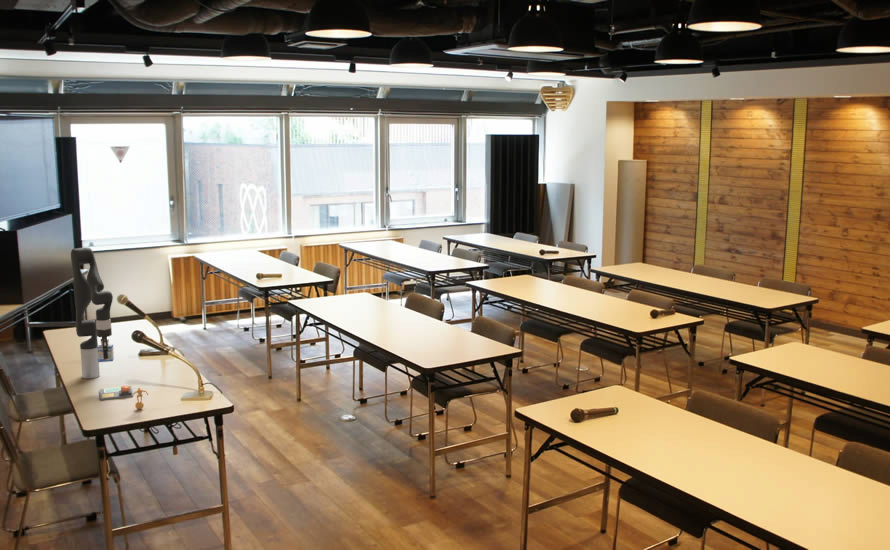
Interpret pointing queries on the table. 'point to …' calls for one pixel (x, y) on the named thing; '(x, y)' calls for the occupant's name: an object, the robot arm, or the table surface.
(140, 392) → the figurine
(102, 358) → the medicine box
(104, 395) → the activity board
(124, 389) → the button
